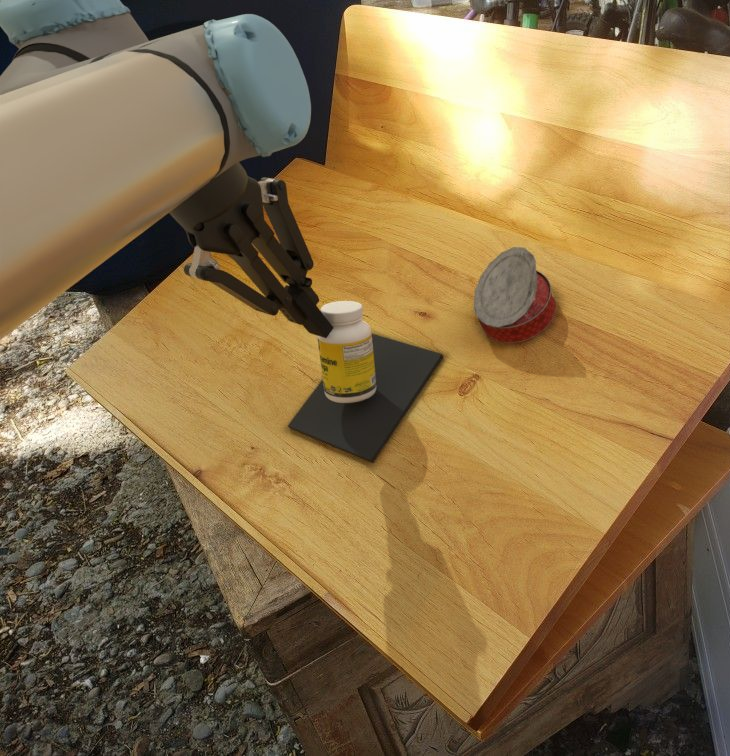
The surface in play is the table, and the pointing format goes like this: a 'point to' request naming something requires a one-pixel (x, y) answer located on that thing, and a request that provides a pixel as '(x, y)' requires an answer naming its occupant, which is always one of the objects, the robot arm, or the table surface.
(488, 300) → the canned food
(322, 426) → the mat
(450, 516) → the table surface
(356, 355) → the pill bottle
